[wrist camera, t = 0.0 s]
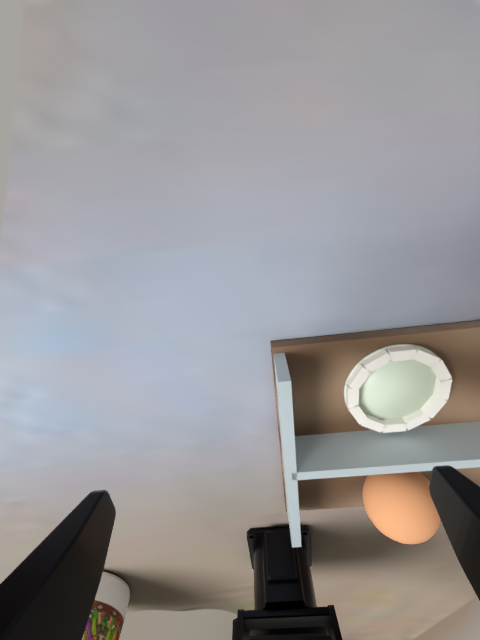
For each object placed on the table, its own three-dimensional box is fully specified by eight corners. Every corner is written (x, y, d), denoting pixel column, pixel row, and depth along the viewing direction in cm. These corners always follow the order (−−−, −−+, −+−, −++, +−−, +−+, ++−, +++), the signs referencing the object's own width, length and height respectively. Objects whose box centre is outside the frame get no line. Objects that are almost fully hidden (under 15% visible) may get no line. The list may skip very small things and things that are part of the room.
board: (474, 488, 29) (511, 538, 25) (284, 501, 31) (291, 551, 26) (521, 316, 22) (584, 347, 18) (270, 341, 23) (276, 375, 19)
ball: (414, 490, 28) (452, 558, 23) (352, 494, 29) (375, 562, 23) (421, 444, 26) (465, 509, 21) (354, 450, 26) (380, 515, 21)
